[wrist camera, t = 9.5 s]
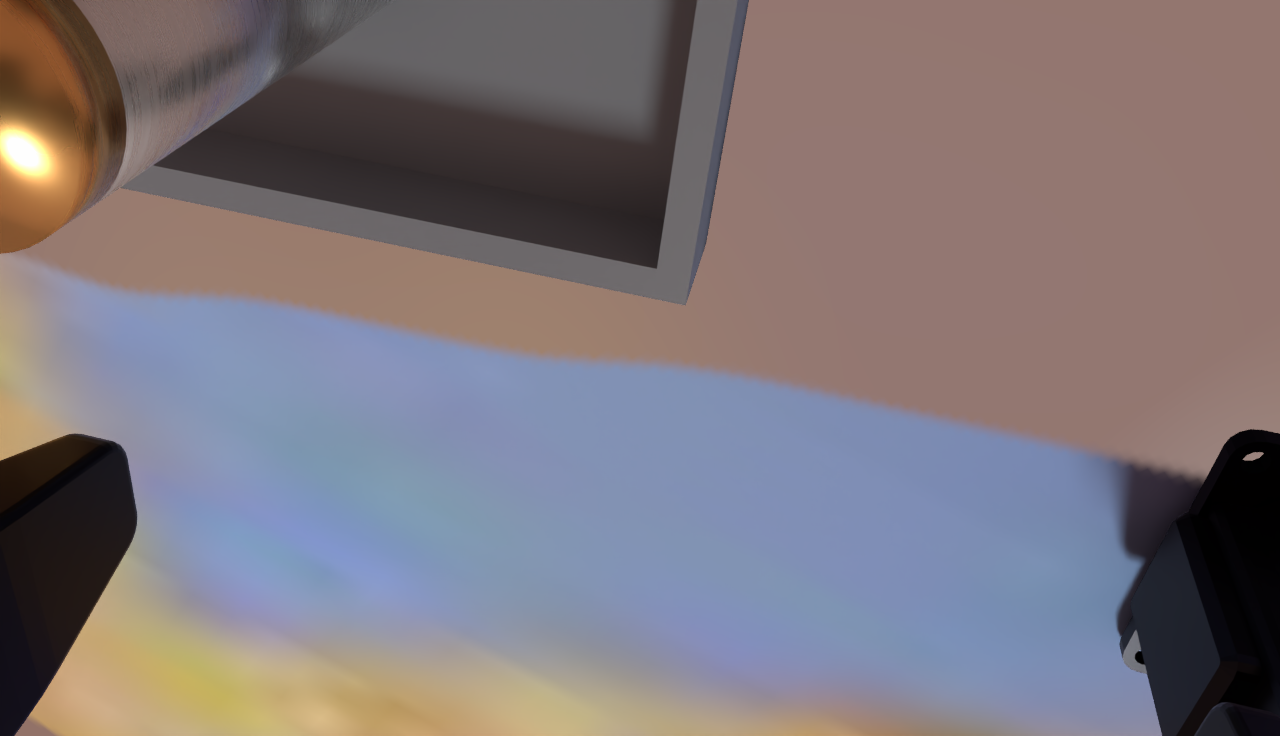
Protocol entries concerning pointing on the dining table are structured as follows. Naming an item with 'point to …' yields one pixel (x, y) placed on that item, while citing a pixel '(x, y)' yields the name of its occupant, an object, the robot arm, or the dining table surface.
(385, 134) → the tray
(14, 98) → the pin
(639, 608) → the dining table surface
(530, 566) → the dining table surface
